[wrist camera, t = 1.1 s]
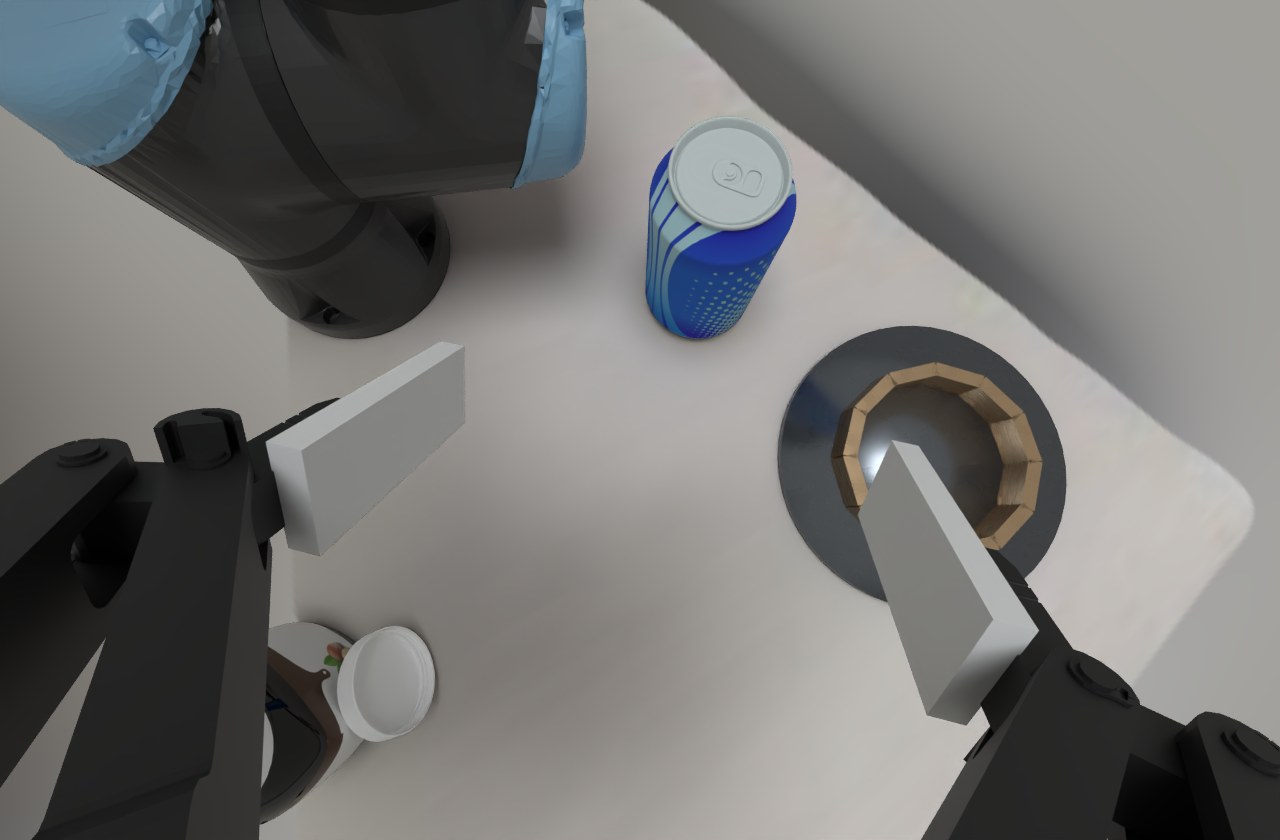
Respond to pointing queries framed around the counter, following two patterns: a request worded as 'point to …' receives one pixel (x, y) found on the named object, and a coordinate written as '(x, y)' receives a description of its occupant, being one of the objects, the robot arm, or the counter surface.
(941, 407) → the collar plate
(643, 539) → the counter surface
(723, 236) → the beer can
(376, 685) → the spread jar
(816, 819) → the counter surface
